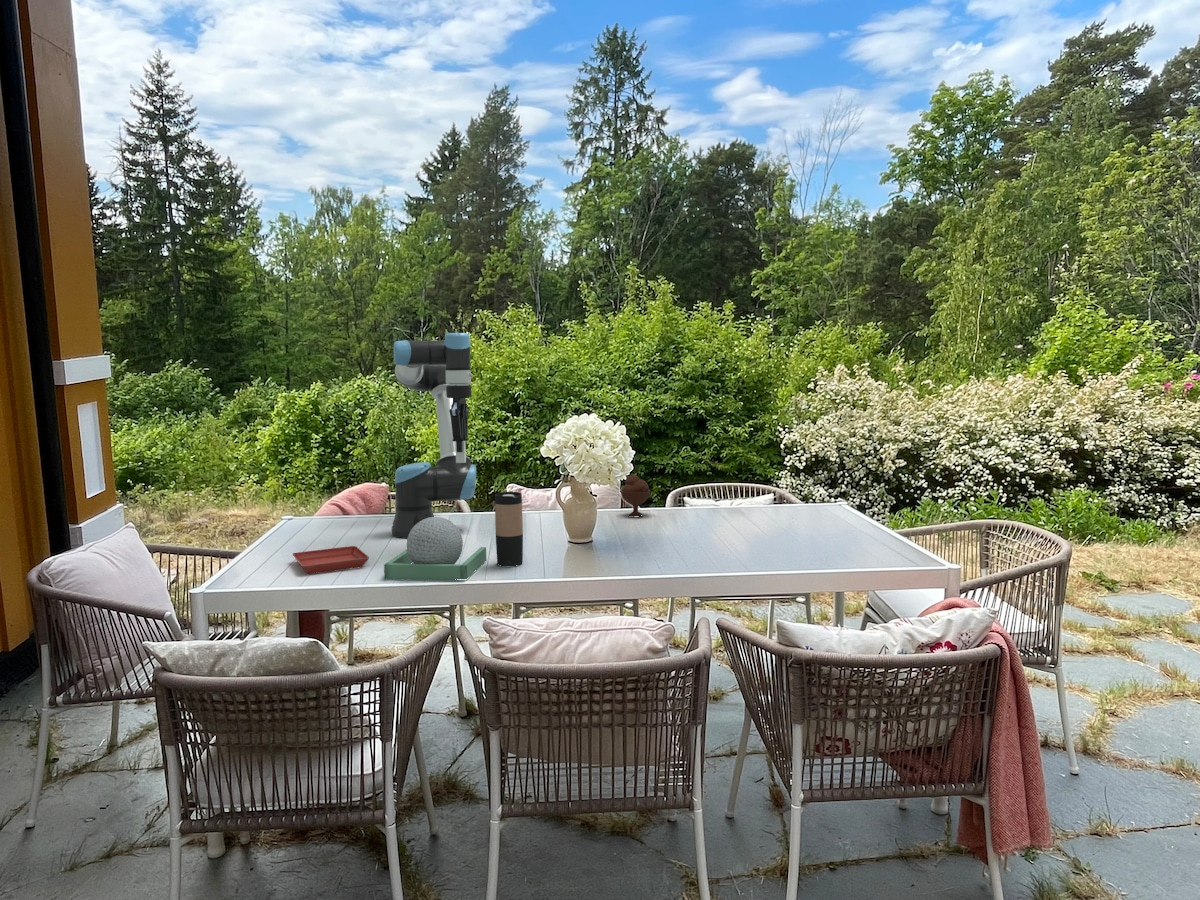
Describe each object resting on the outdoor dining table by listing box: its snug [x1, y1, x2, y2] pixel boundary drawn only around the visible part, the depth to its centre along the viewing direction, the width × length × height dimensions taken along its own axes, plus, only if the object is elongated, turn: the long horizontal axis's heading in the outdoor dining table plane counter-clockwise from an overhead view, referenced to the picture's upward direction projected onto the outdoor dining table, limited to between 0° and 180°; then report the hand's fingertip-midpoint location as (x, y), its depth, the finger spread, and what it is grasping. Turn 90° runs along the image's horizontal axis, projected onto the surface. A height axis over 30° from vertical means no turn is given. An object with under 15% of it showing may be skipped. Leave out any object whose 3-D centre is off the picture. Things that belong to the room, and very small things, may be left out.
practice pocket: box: [383, 546, 487, 581], centre depth 224 cm, size 22×22×4 cm
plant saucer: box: [292, 545, 370, 575], centre depth 231 cm, size 18×18×3 cm
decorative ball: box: [406, 516, 464, 564], centre depth 222 cm, size 15×15×15 cm
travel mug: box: [494, 491, 524, 567], centre depth 229 cm, size 8×8×20 cm
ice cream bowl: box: [620, 474, 651, 517], centre depth 297 cm, size 11×11×15 cm
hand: (461, 462), depth 248 cm, fingers closed
